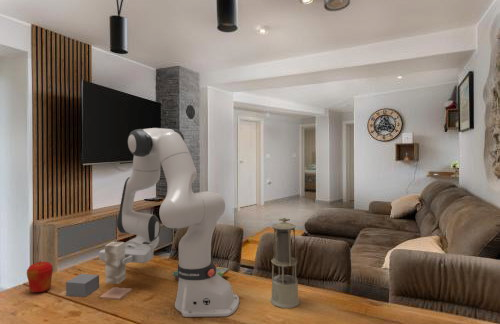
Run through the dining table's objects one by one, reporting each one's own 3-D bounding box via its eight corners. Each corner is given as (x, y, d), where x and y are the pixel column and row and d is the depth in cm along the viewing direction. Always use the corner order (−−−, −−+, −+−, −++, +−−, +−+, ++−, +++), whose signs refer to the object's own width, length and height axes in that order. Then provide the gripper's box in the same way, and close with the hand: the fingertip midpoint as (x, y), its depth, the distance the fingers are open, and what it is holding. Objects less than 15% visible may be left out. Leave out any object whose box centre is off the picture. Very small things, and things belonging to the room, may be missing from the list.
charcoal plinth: (99, 287, 125) (99, 275, 124) (85, 296, 117) (85, 283, 116) (81, 286, 126) (80, 273, 126) (66, 295, 118) (65, 282, 118)
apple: (23, 291, 122) (22, 261, 121) (48, 284, 128) (47, 255, 128) (32, 297, 116) (31, 266, 116) (57, 289, 123) (56, 259, 123)
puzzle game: (188, 260, 142) (228, 266, 134) (189, 270, 142) (229, 277, 134) (173, 269, 131) (215, 277, 123) (173, 281, 131) (215, 288, 124)
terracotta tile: (131, 290, 122) (131, 288, 122) (119, 299, 114) (119, 298, 114) (113, 288, 123) (113, 287, 123) (99, 298, 116) (99, 296, 116)
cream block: (125, 278, 121) (124, 242, 120) (118, 283, 116) (117, 246, 115) (113, 277, 122) (113, 241, 121) (105, 282, 117) (104, 245, 116)
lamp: (268, 307, 108) (268, 220, 107) (272, 290, 121) (272, 213, 120) (299, 309, 106) (299, 221, 105) (299, 292, 119) (299, 213, 118)
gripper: (111, 241, 133) (88, 251, 119) (156, 243, 129) (138, 255, 116) (111, 256, 133) (89, 268, 120) (156, 258, 130) (139, 271, 116)
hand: (114, 261), depth 118 cm, fingers closed on cream block, 5 cm apart
